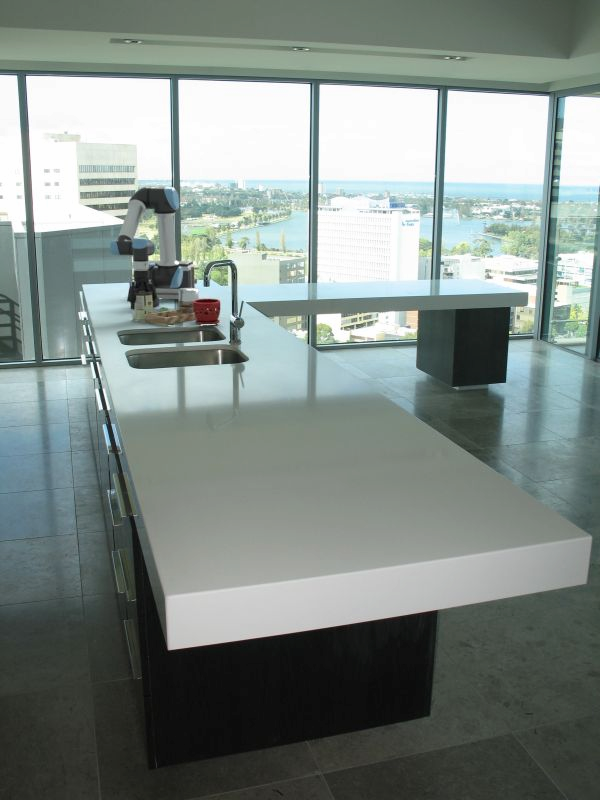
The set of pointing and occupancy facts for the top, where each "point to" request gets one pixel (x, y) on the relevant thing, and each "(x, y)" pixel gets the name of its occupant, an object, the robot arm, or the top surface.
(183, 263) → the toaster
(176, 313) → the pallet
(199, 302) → the plant pot
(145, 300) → the coffee can
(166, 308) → the button
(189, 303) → the canister
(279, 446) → the top surface
